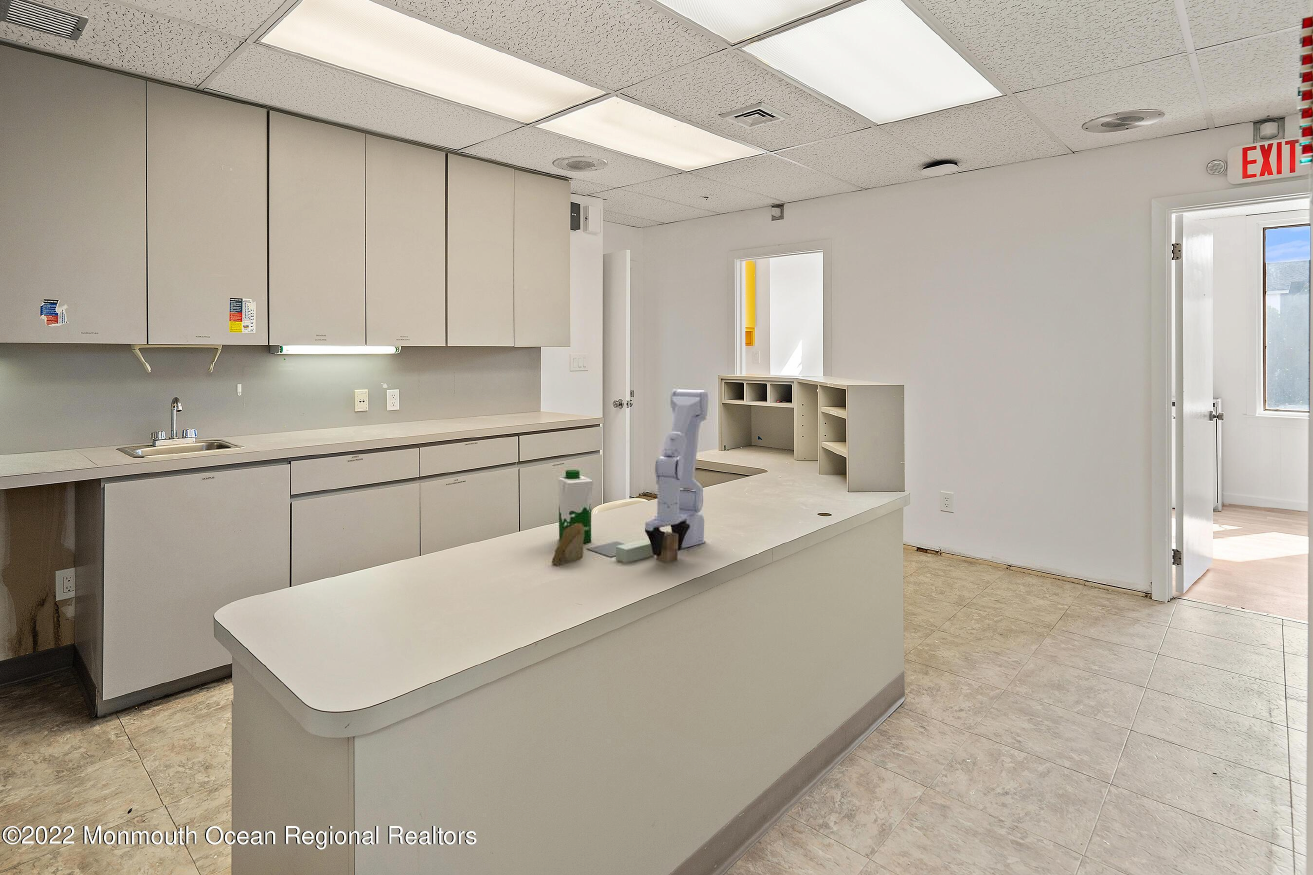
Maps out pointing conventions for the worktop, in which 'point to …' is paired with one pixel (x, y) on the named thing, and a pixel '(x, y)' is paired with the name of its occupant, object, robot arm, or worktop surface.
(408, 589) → the worktop surface
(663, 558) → the walnut block
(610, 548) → the mat
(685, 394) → the robot arm
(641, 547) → the pale green rectangular block
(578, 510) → the milk carton
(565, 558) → the rock
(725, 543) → the worktop surface
